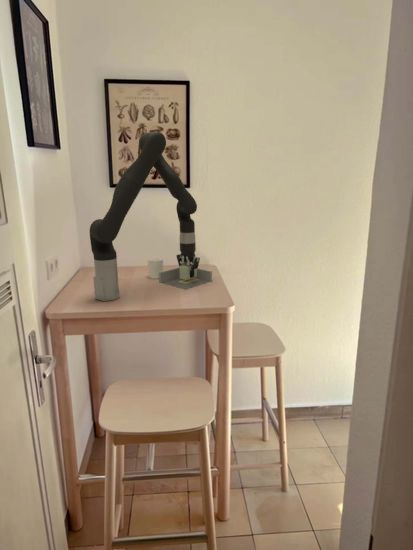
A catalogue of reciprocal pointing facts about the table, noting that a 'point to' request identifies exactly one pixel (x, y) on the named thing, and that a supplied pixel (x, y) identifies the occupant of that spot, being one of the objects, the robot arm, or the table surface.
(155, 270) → the white cup
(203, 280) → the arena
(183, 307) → the table surface
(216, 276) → the table surface
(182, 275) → the sage block
